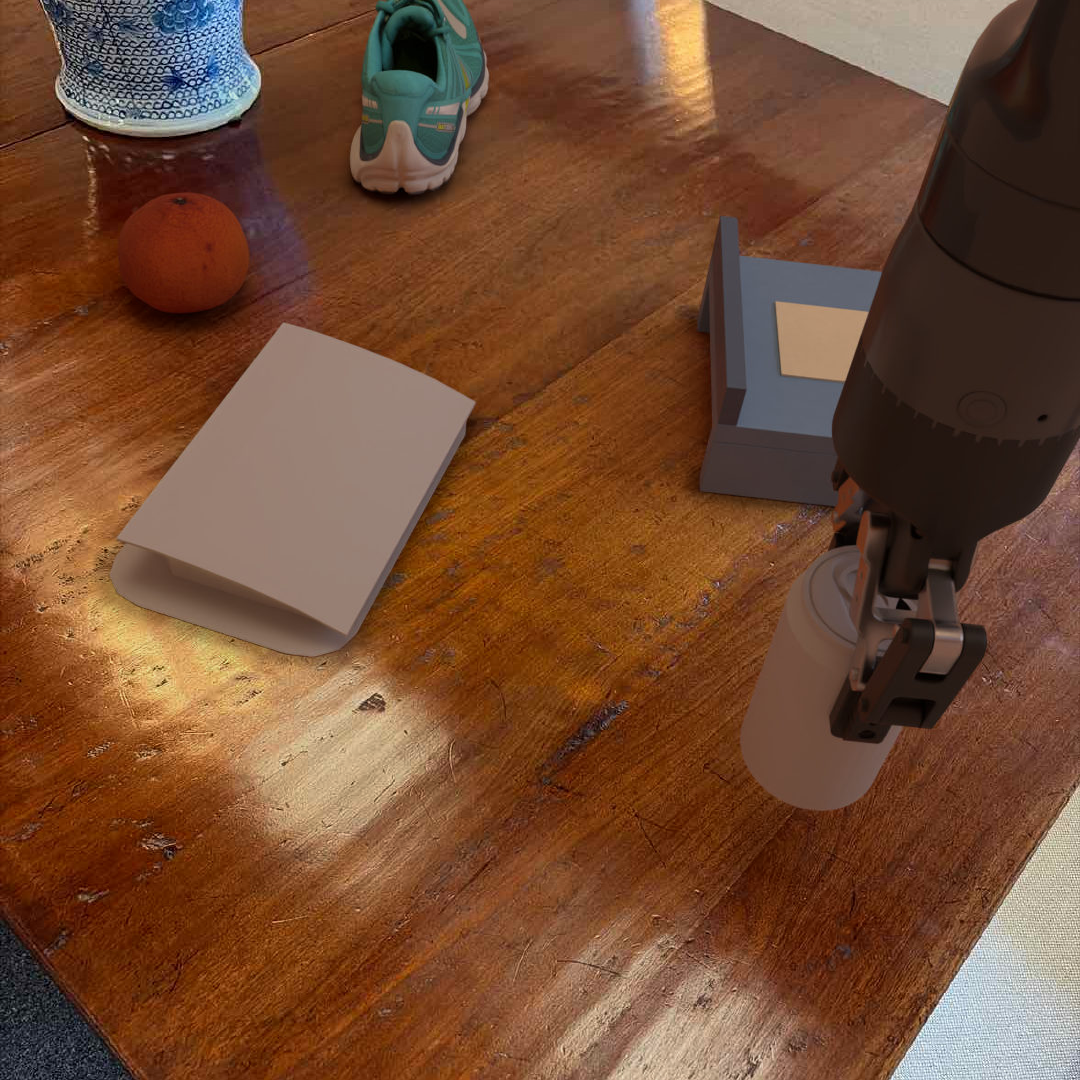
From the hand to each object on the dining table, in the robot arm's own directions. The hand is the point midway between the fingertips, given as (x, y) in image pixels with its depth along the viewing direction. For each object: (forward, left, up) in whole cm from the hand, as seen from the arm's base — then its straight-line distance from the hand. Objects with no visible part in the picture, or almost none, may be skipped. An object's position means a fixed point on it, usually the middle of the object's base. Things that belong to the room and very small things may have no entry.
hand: (846, 660), depth 50 cm
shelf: (-4, -33, -15) cm, 37 cm away
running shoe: (+27, -66, -15) cm, 73 cm away
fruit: (+40, -38, -15) cm, 57 cm away
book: (+28, -20, -15) cm, 38 cm away
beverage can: (0, 0, -8) cm, 8 cm away
